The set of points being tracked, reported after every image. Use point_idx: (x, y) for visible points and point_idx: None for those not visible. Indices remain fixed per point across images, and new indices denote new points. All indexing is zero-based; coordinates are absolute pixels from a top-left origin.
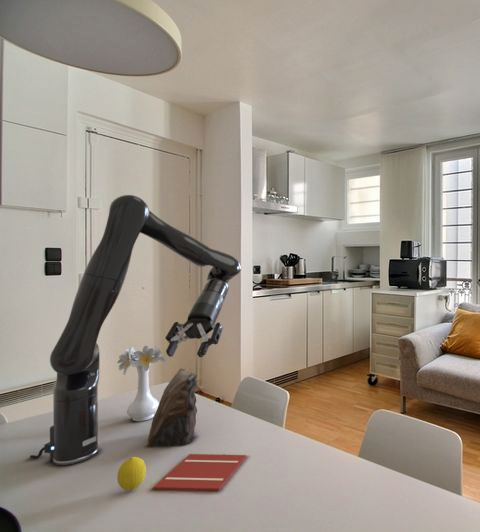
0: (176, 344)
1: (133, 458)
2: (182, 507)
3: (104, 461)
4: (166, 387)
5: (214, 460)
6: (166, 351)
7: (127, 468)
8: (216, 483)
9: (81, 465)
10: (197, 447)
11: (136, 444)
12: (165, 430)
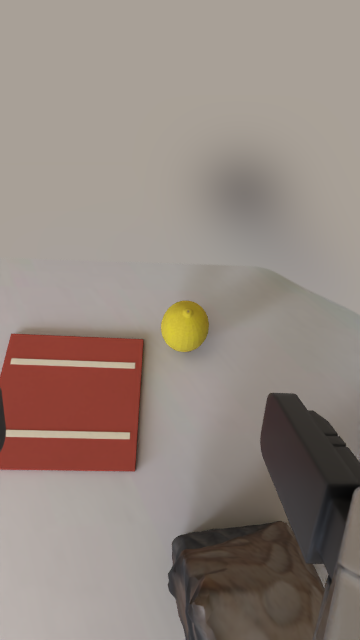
0: (312, 530)
1: (183, 310)
2: (64, 296)
3: None
4: None
5: (56, 438)
6: (314, 415)
7: (182, 301)
8: (21, 349)
9: (356, 423)
10: (137, 523)
11: None
12: (243, 531)
